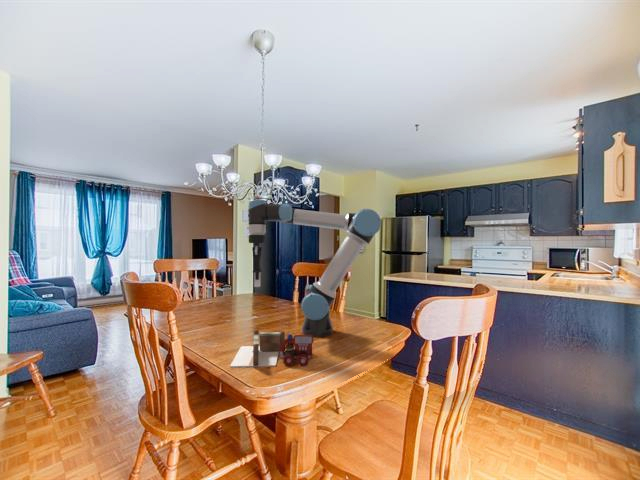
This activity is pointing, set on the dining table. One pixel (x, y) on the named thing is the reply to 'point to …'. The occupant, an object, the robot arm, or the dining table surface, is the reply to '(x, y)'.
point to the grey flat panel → (255, 350)
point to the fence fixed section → (270, 340)
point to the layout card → (246, 358)
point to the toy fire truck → (297, 349)
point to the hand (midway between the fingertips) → (257, 286)
